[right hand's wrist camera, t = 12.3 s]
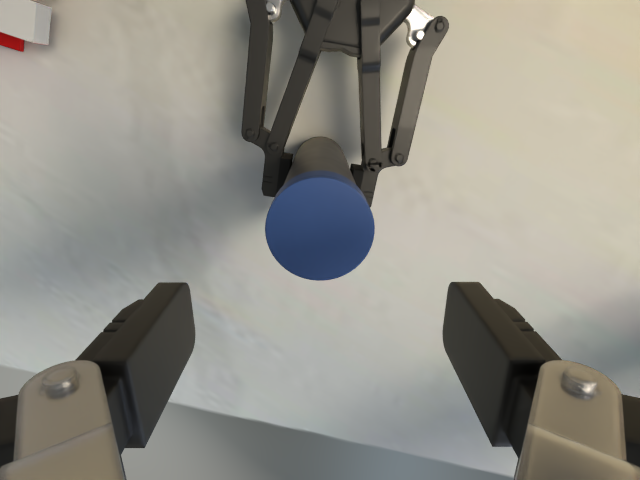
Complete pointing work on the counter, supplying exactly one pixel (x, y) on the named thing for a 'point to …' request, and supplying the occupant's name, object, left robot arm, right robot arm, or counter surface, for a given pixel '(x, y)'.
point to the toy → (24, 23)
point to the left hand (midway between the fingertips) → (309, 240)
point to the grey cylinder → (319, 158)
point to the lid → (319, 225)
